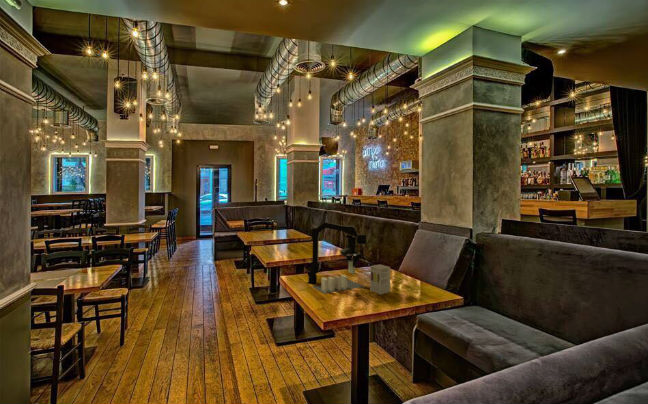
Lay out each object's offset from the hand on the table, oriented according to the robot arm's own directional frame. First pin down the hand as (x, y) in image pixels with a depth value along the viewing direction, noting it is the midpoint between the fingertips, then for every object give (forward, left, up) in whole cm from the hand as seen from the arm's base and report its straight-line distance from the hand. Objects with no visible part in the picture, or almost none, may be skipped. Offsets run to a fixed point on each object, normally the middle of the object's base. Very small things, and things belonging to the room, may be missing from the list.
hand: (351, 266), depth 240 cm
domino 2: (+4, -19, -13) cm, 23 cm away
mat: (0, -11, -13) cm, 17 cm away
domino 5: (0, 0, -4) cm, 4 cm away
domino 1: (+4, -24, -13) cm, 27 cm away
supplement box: (+21, +8, -13) cm, 26 cm away
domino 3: (+4, -14, -13) cm, 19 cm away
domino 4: (+4, -9, -13) cm, 16 cm away
